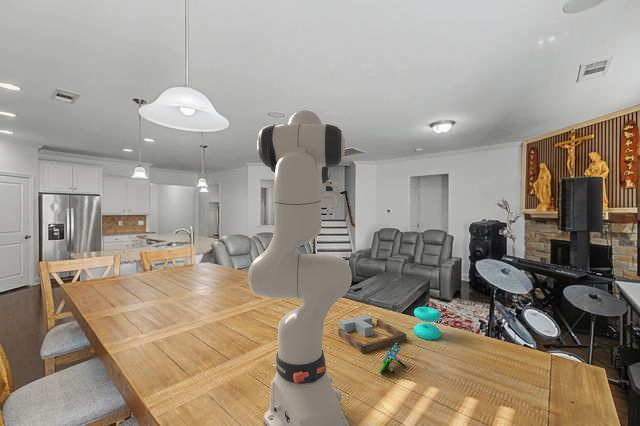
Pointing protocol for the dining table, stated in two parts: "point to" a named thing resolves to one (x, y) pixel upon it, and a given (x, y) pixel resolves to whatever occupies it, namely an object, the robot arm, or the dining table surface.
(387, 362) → the stick construction toy
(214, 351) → the dining table surface
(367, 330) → the T-block
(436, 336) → the donuts
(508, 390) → the dining table surface
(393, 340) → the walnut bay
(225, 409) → the dining table surface
